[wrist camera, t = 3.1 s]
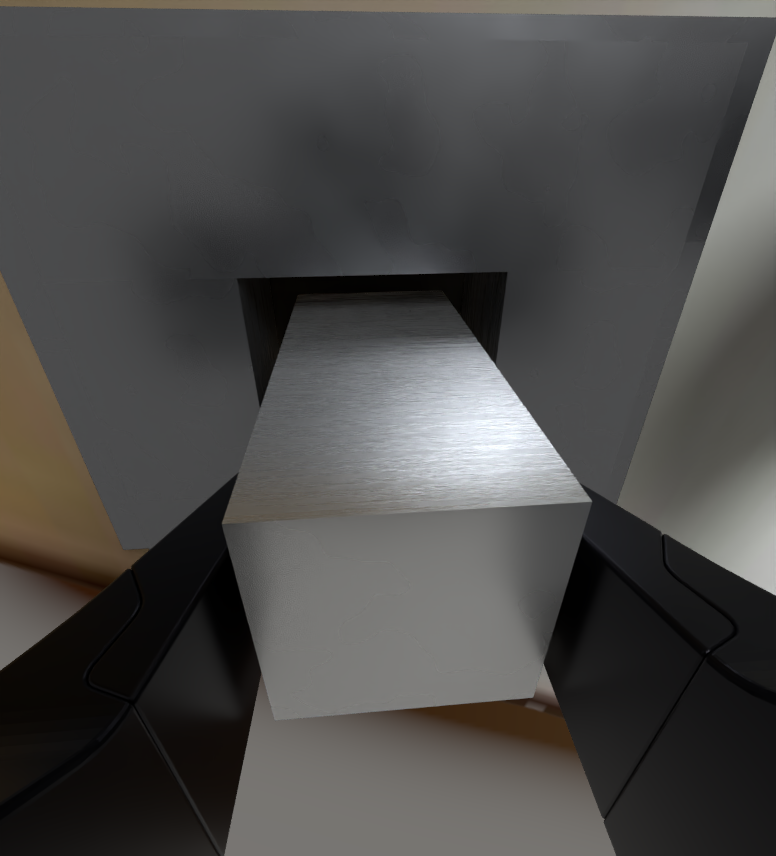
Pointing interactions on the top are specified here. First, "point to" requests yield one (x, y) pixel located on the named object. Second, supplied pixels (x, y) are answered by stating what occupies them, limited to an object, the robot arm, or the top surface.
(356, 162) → the stand base
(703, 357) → the top surface
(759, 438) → the top surface
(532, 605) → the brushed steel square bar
